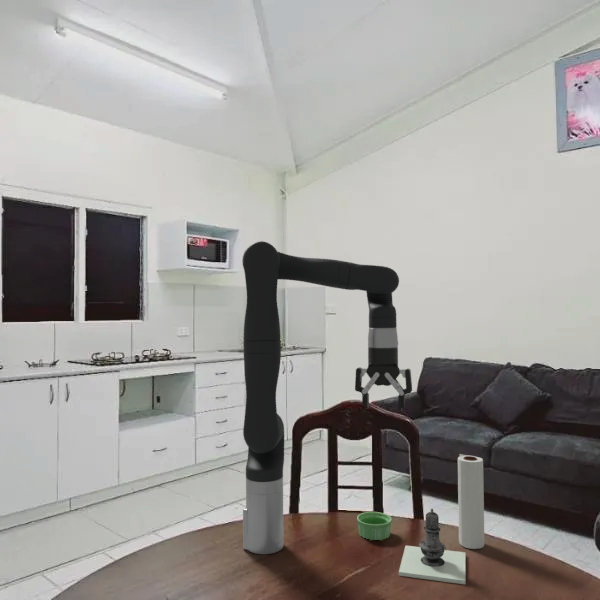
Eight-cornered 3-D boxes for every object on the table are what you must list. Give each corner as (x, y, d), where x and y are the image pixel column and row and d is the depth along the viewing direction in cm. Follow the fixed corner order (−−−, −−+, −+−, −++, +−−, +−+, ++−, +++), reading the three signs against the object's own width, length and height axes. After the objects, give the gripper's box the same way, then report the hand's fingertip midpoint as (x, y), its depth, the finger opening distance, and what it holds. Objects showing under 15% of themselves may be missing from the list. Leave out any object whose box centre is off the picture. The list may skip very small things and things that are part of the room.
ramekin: (353, 529, 144) (353, 512, 144) (386, 527, 145) (386, 510, 145) (361, 543, 135) (361, 525, 135) (396, 541, 136) (396, 523, 136)
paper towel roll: (483, 551, 130) (482, 462, 130) (457, 547, 132) (456, 459, 132) (485, 539, 136) (484, 454, 137) (460, 536, 139) (459, 452, 139)
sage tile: (398, 575, 118) (398, 571, 118) (405, 548, 132) (405, 545, 132) (465, 584, 114) (465, 580, 114) (465, 555, 127) (465, 552, 127)
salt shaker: (446, 568, 120) (446, 514, 120) (419, 566, 121) (419, 512, 121) (445, 556, 125) (444, 504, 126) (419, 554, 126) (418, 503, 127)
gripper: (352, 346, 136) (353, 410, 136) (409, 346, 132) (410, 413, 132) (358, 344, 143) (358, 405, 143) (412, 345, 139) (413, 408, 139)
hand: (383, 409), depth 137 cm, fingers open, 8 cm apart
